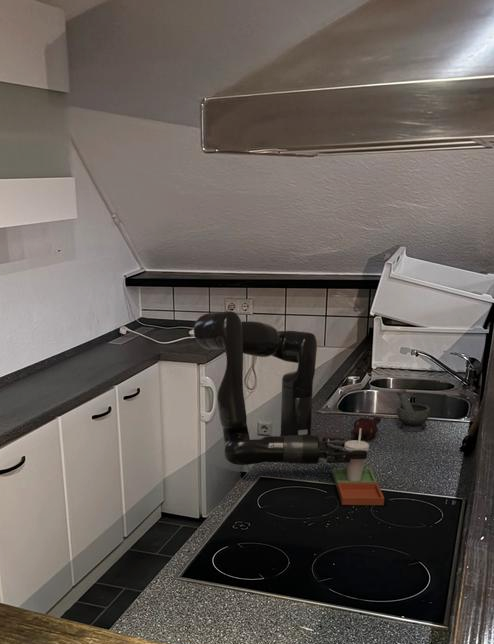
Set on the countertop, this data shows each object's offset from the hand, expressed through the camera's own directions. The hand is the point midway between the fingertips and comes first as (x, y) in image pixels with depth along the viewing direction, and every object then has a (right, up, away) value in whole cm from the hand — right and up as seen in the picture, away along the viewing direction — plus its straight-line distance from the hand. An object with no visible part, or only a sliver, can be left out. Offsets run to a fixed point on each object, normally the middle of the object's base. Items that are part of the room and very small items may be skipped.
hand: (364, 450), depth 199 cm
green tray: (-2, -8, +3) cm, 9 cm away
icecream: (+9, +5, +36) cm, 37 cm away
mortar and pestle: (+26, +9, +44) cm, 52 cm away
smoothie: (-2, -8, +3) cm, 9 cm away
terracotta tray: (-3, -12, -7) cm, 14 cm away
